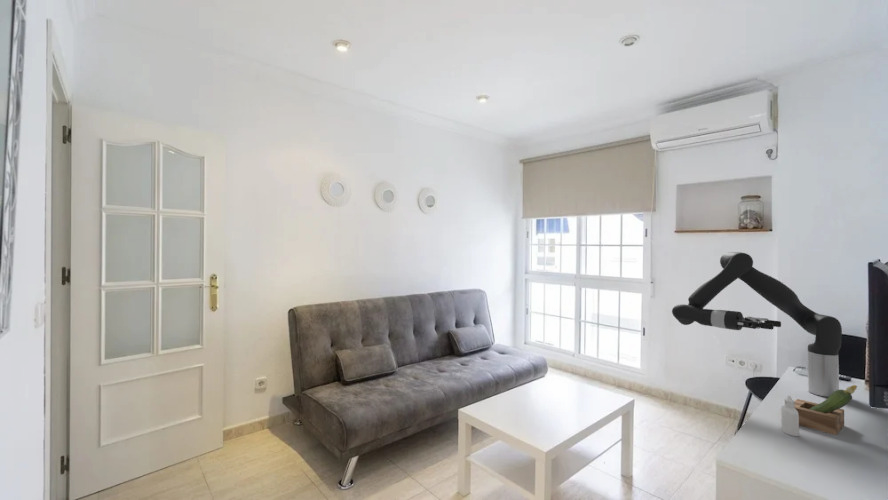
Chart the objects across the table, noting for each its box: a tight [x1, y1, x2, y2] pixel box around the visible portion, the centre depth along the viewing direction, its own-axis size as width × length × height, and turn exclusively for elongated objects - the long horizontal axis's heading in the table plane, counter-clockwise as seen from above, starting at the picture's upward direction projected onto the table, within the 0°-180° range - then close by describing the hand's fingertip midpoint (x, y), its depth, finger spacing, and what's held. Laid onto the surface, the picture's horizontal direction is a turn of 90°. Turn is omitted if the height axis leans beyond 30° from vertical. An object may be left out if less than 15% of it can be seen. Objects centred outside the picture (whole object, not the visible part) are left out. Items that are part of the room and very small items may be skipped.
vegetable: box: [810, 384, 858, 414], centre depth 129 cm, size 4×4×20 cm
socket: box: [794, 398, 845, 436], centre depth 133 cm, size 12×12×6 cm
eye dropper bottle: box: [780, 395, 800, 437], centre depth 126 cm, size 4×6×12 cm
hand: (777, 325), depth 145 cm, fingers open, 8 cm apart
